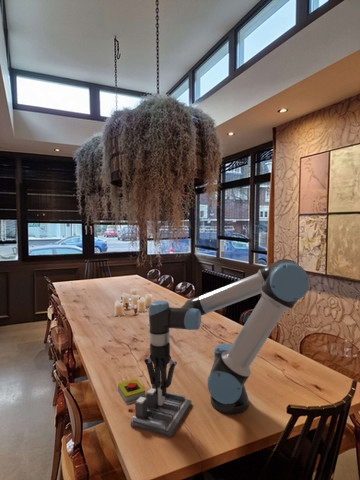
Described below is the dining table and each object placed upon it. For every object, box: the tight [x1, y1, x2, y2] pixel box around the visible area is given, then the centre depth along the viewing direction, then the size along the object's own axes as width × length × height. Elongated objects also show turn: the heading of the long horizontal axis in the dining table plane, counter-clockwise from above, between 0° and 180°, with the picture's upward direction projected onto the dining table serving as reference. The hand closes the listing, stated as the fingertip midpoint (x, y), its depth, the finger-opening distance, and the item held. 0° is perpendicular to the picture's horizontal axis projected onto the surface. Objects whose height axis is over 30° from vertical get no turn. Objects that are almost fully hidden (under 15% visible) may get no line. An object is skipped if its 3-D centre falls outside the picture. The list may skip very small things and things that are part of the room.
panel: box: [130, 391, 193, 438], centre depth 109 cm, size 16×20×3 cm
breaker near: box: [134, 397, 148, 419], centre depth 105 cm, size 3×4×7 cm
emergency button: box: [116, 378, 146, 405], centre depth 125 cm, size 9×4×15 cm
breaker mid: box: [145, 387, 158, 409], centre depth 111 cm, size 3×4×7 cm
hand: (161, 403), depth 110 cm, fingers closed
